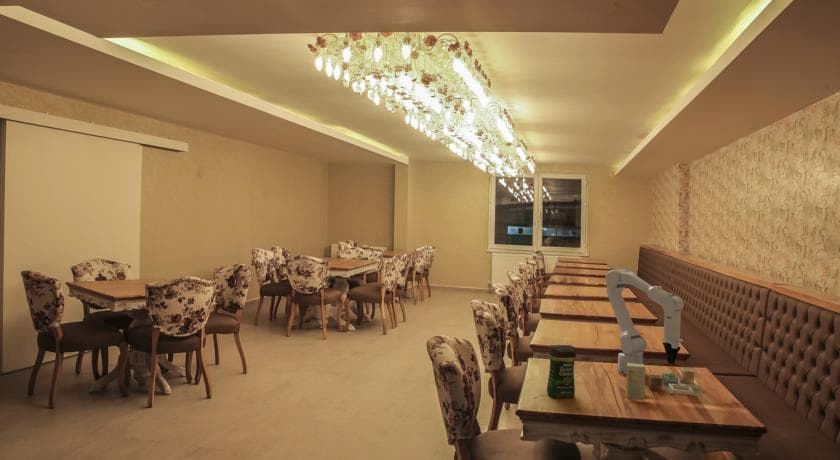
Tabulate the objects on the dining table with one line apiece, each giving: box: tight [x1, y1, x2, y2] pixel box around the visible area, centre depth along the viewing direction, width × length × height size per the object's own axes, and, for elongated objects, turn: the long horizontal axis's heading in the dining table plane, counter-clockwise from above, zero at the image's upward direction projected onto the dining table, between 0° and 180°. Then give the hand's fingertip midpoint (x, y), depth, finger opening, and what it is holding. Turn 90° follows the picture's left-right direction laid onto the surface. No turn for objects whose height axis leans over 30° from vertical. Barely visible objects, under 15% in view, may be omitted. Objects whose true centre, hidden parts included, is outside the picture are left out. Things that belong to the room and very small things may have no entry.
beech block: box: [679, 367, 695, 385], centre depth 210 cm, size 4×4×6 cm
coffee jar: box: [546, 344, 577, 399], centre depth 199 cm, size 10×8×19 cm
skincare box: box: [625, 363, 646, 401], centre depth 198 cm, size 6×4×12 cm
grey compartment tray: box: [663, 378, 704, 397], centre depth 207 cm, size 12×15×2 cm
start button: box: [666, 371, 675, 377], centre depth 212 cm, size 3×3×3 cm
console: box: [661, 372, 679, 386], centre depth 212 cm, size 5×5×3 cm
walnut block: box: [648, 373, 663, 392], centre depth 205 cm, size 4×4×6 cm
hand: (670, 362), depth 212 cm, fingers open, 2 cm apart
